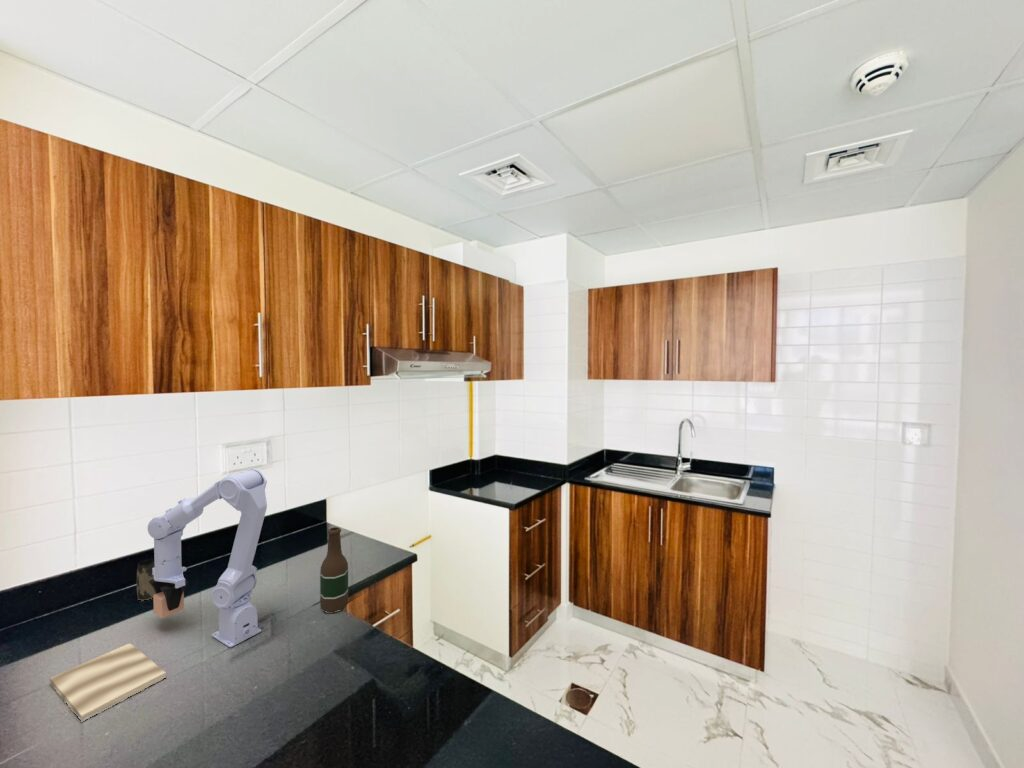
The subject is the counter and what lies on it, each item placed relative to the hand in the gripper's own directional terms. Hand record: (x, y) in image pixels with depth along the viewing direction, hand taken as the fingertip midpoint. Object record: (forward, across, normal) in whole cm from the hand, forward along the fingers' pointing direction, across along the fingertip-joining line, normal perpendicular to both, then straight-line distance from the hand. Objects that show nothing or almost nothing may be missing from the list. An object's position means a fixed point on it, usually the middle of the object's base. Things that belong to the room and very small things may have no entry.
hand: (168, 605), depth 115 cm
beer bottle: (+6, -30, -30) cm, 43 cm away
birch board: (+6, -12, +16) cm, 21 cm away
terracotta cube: (+2, 0, 0) cm, 2 cm away
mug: (+6, +24, -5) cm, 25 cm away
